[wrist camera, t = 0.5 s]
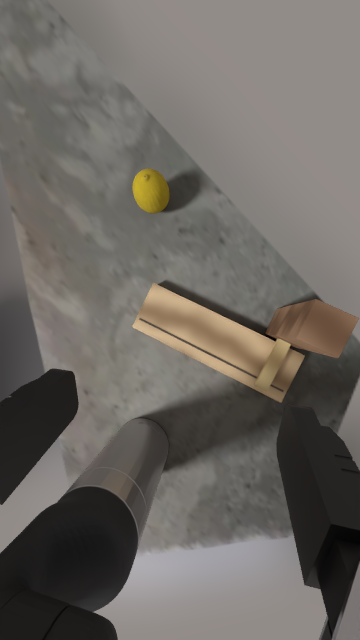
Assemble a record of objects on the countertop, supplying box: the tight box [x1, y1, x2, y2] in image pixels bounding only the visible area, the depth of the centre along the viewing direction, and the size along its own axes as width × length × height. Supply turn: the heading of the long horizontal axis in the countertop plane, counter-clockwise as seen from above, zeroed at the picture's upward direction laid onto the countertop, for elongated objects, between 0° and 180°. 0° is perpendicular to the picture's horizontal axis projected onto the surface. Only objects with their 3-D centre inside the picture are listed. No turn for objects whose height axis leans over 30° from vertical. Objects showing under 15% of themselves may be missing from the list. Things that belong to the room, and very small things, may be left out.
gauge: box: [254, 299, 359, 392], centre depth 31 cm, size 12×4×14 cm, turn 154°
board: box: [132, 283, 305, 403], centre depth 38 cm, size 8×26×2 cm, turn 64°
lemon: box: [133, 169, 170, 213], centre depth 37 cm, size 6×6×8 cm
